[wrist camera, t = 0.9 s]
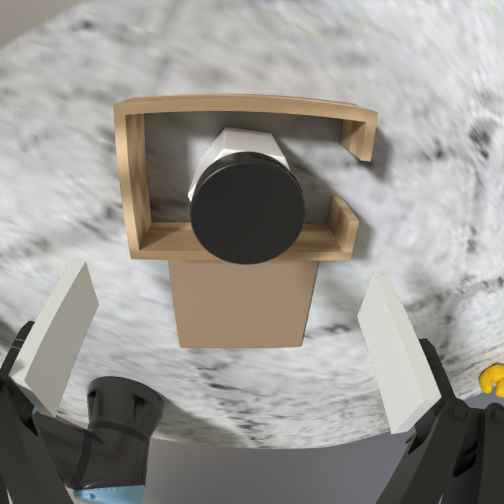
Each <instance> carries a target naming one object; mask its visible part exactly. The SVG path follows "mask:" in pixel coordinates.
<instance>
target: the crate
mask: <svg viewBox="0 0 504 504" xmlns="http://www.w3.org/2000/svg"><path fill="white" fill-rule="evenodd" d="M180 111H251V112H273V113H289V114H302V115H313V116H323V117H332V118H340V119H343V124H342V132H341V140H340V144H341V145H342V146H343V147H345V148H346V149H347V150H348V151H350V152H351V153H352V154H354V155H355V156H356V157H357V158H359V159H360V160H363V161H371V157H372V150H373V144H374V138H375V131H376V124H377V116H378V113H377V112H375V111H372V110H369V109H367V108H364V107H361V106H358V105H356V104H351V103H344V102H337V101H329V100H320V99H311V98H301V97H289V96H275V95H256V94H178V95H159V96H145V97H134V98H131V99H128V100H125V101H122V102H119V103H116V104H114V124H115V139H116V151H117V162H118V172H119V181H120V189H121V197H122V205H123V212H124V219H125V226H126V232H127V238H128V244H129V250H130V256H131V259H161V260H221V259H219V258H217V257H215V256H214V255H212V254H211V253H209V252H208V251H207V250H206V249H205V248H204V247H203V246H202V245H201V244H200V243H199V241H198V240H197V238H196V236H195V234H194V232H193V230H192V226H191V222H152V220H151V210H150V200H149V189H148V177H147V164H146V148H145V129H144V113H158V112H180ZM358 225H359V220H358V219H357V217H356V216H355V215H354V213H353V212H352V211H351V209H350V208H349V207H348V205H347V204H346V203H345V201H344V200H343V199H342V197H338V196H332V203H331V209H330V215H329V221H328V224H304V225H303V228H302V231H301V233H300V235H299V236H298V238H297V240H296V241H295V242H294V243H293V245H292V246H291V247H290V248H289V249H288V250H286V251H285V252H284V253H282V254H281V255H279V256H278V257H276V258H274V259H272V260H350V259H351V255H352V251H353V247H354V243H355V238H356V234H357V229H358Z"/></svg>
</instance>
